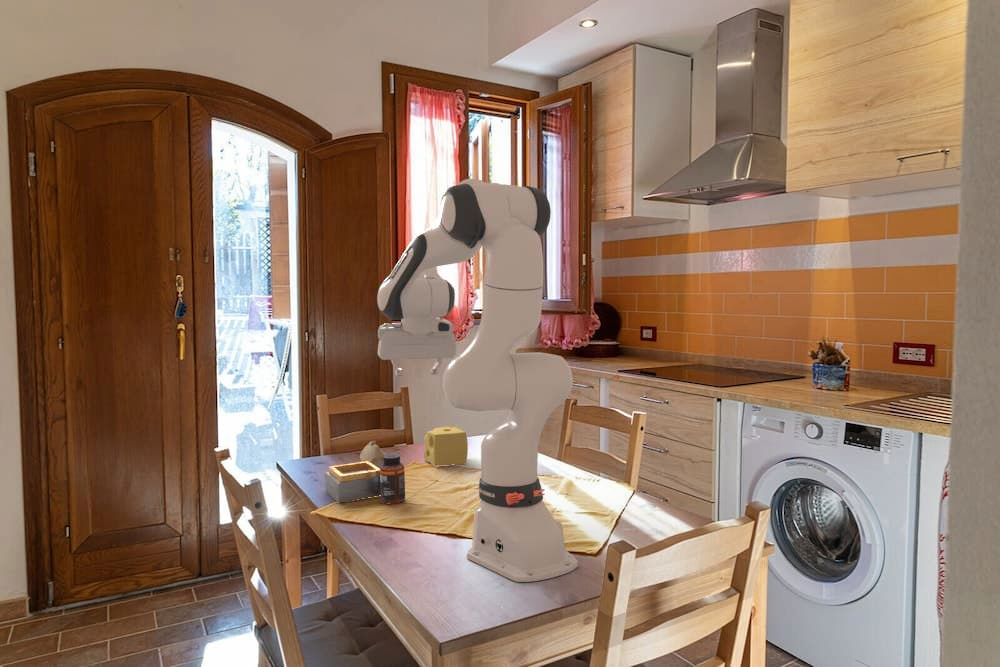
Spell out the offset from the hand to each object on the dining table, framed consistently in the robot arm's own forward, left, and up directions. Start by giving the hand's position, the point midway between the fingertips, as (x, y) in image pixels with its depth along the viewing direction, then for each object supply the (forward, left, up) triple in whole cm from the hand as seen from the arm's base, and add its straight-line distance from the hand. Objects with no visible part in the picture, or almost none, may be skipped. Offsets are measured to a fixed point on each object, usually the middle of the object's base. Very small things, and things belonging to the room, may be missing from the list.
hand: (416, 374), depth 171 cm
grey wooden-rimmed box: (+3, +16, -30) cm, 34 cm away
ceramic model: (+16, +7, -30) cm, 35 cm away
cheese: (+19, -17, -30) cm, 39 cm away
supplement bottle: (-8, +10, -30) cm, 33 cm away
